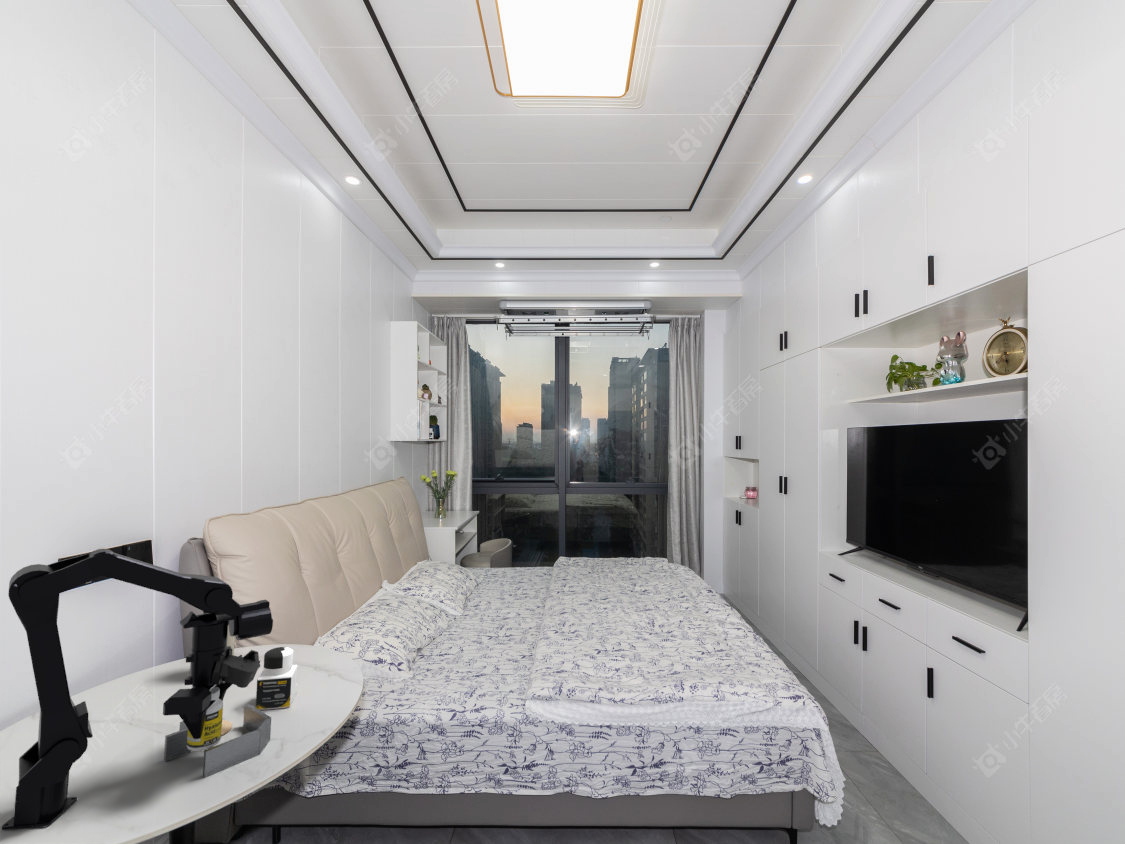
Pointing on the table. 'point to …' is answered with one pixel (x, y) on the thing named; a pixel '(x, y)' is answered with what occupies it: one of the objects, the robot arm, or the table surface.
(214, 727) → the supplement bottle
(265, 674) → the medicine bottle
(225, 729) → the coaster
